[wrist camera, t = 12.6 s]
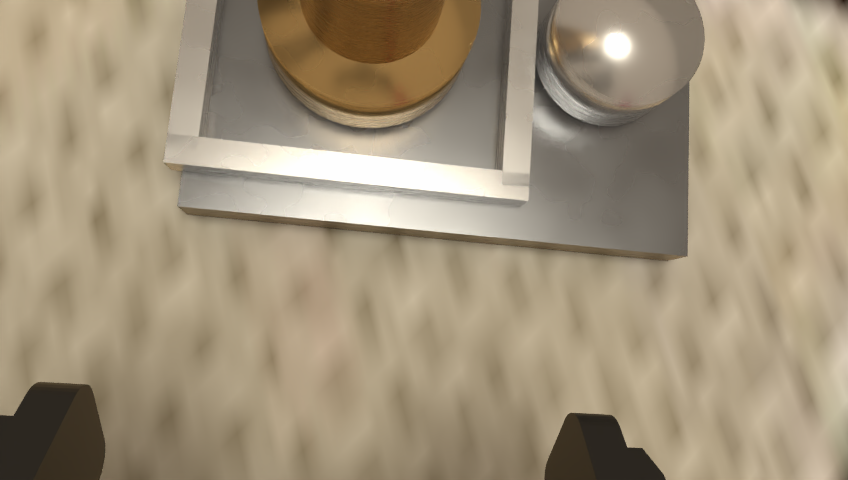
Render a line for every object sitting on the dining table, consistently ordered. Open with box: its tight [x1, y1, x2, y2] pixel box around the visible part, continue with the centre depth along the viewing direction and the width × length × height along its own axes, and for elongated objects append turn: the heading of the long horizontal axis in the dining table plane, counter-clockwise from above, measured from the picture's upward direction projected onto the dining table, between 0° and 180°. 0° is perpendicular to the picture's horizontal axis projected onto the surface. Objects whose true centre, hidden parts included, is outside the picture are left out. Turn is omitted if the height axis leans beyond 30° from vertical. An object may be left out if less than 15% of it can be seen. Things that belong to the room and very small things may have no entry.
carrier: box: [163, 0, 705, 261], centre depth 19 cm, size 15×12×3 cm
